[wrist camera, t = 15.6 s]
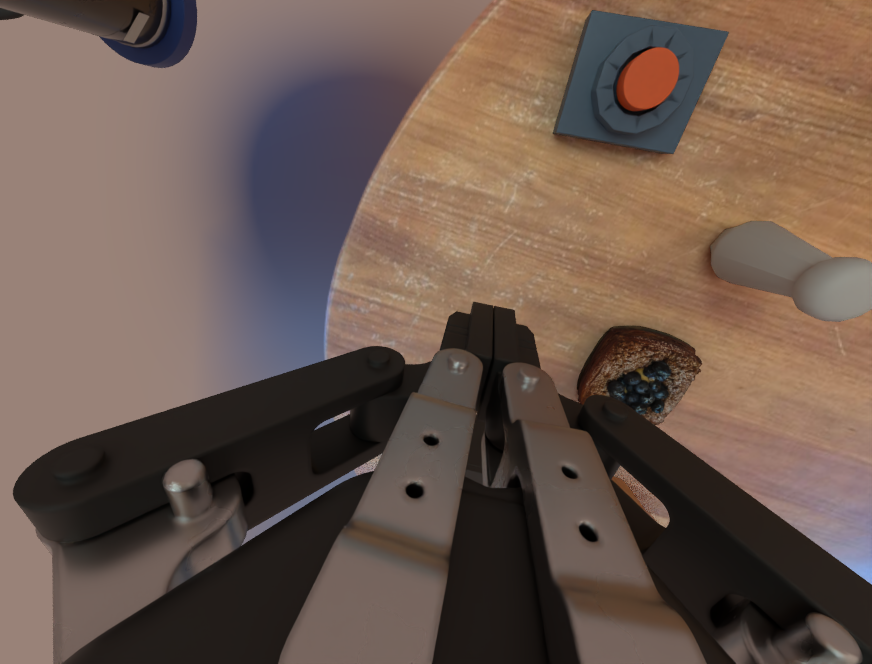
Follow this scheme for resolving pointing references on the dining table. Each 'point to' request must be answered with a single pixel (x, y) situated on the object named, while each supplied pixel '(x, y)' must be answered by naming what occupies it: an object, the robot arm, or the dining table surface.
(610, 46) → the control block
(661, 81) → the button
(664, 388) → the pastry
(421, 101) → the dining table surface
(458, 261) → the dining table surface
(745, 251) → the gray pawn figurine
